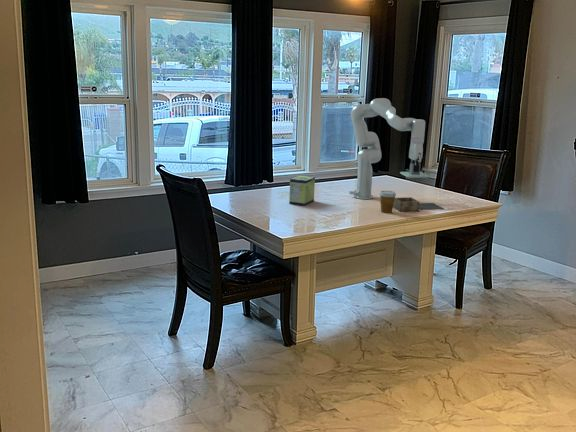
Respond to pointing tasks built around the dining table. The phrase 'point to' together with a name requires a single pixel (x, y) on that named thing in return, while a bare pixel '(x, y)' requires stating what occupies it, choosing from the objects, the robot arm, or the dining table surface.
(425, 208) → the rubber mat
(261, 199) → the dining table surface
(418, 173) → the lid
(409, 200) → the storage box
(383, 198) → the disposable coffee cup
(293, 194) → the protein box
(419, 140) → the robot arm
